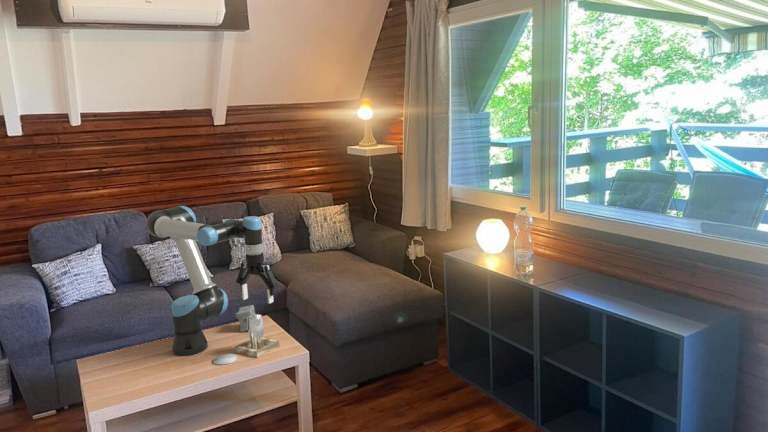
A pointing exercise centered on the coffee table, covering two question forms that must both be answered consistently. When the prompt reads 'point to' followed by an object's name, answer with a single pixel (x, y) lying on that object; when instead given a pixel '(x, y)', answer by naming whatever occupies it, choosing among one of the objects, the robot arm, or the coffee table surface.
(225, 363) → the white glossy dome
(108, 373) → the coffee table surface
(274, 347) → the frame
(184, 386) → the coffee table surface
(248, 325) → the silver tall cylindrical piece
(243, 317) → the incense holder
